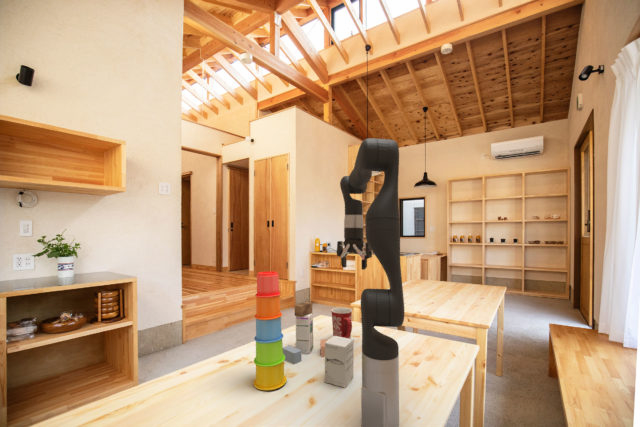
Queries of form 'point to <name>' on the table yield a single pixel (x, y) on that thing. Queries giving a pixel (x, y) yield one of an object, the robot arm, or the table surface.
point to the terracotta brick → (322, 347)
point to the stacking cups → (268, 334)
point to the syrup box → (304, 333)
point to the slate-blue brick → (292, 354)
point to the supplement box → (339, 361)
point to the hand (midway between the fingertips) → (353, 268)
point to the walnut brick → (303, 309)
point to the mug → (342, 322)
